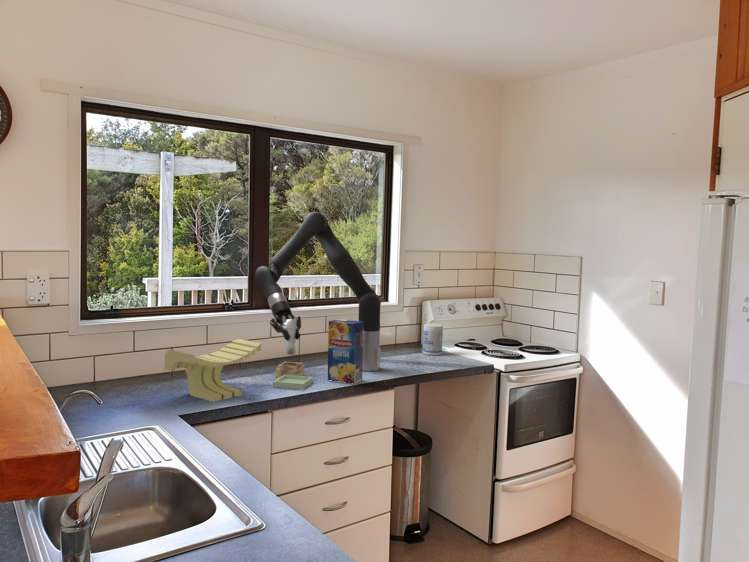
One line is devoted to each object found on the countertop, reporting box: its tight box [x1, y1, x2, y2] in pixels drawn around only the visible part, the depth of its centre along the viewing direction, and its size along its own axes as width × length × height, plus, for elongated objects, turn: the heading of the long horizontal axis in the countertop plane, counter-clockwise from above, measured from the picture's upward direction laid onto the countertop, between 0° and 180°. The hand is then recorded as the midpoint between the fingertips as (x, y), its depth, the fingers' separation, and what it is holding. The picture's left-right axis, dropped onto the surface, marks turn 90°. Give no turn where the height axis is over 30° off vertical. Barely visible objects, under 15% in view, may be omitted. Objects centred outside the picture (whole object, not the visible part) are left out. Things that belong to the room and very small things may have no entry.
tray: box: [272, 375, 314, 390], centre depth 238 cm, size 12×12×2 cm
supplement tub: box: [422, 323, 444, 357], centre depth 305 cm, size 10×10×15 cm
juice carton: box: [327, 318, 364, 385], centre depth 246 cm, size 12×8×24 cm, turn 65°
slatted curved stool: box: [164, 338, 262, 402], centre depth 222 cm, size 30×16×18 cm, turn 141°
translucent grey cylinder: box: [285, 319, 297, 356], centre depth 250 cm, size 4×4×14 cm
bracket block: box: [275, 361, 305, 379], centre depth 251 cm, size 9×9×5 cm
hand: (293, 338), depth 249 cm, fingers closed on translucent grey cylinder, 4 cm apart
